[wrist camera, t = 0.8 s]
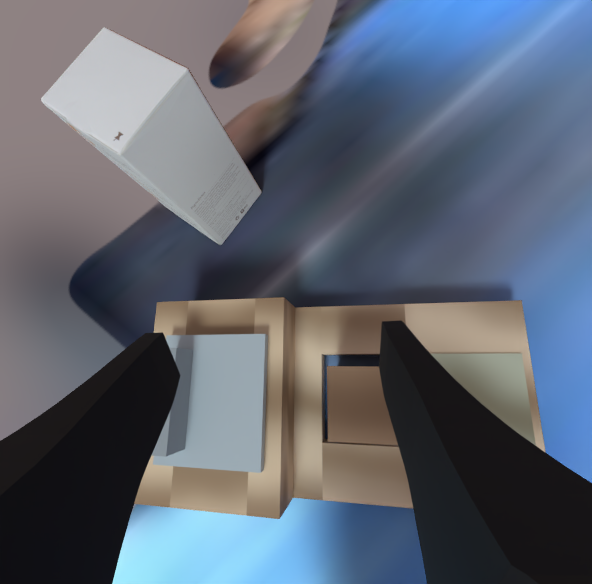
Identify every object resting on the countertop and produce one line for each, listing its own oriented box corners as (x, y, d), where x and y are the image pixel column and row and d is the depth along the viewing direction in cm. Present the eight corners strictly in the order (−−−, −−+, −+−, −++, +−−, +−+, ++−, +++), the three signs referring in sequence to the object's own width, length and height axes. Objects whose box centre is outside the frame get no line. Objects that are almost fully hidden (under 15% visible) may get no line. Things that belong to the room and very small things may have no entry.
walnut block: (395, 427, 23) (404, 445, 17) (338, 424, 24) (327, 441, 18) (392, 368, 24) (399, 366, 18) (337, 368, 25) (327, 366, 19)
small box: (264, 192, 30) (191, 66, 18) (221, 247, 30) (117, 157, 17) (203, 155, 33) (102, 22, 20) (163, 205, 32) (35, 100, 20)
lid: (263, 470, 20) (248, 483, 17) (158, 462, 21) (130, 473, 19) (268, 334, 22) (254, 329, 19) (171, 336, 23) (147, 331, 21)
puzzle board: (543, 511, 20) (595, 552, 16) (177, 479, 26) (134, 503, 21) (512, 304, 24) (548, 287, 19) (192, 314, 29) (157, 302, 24)
